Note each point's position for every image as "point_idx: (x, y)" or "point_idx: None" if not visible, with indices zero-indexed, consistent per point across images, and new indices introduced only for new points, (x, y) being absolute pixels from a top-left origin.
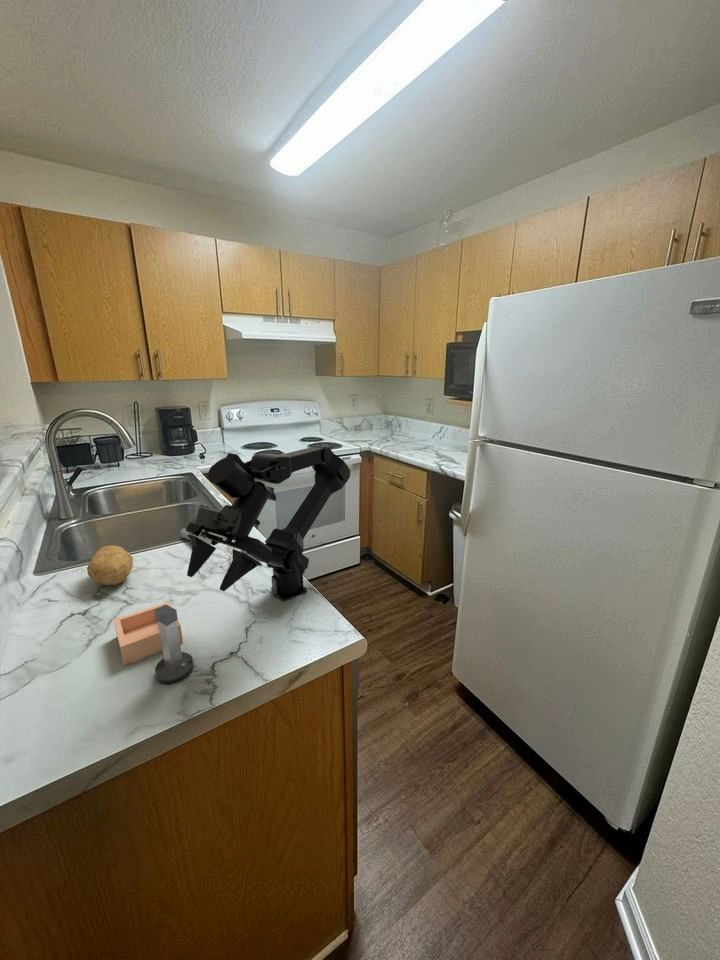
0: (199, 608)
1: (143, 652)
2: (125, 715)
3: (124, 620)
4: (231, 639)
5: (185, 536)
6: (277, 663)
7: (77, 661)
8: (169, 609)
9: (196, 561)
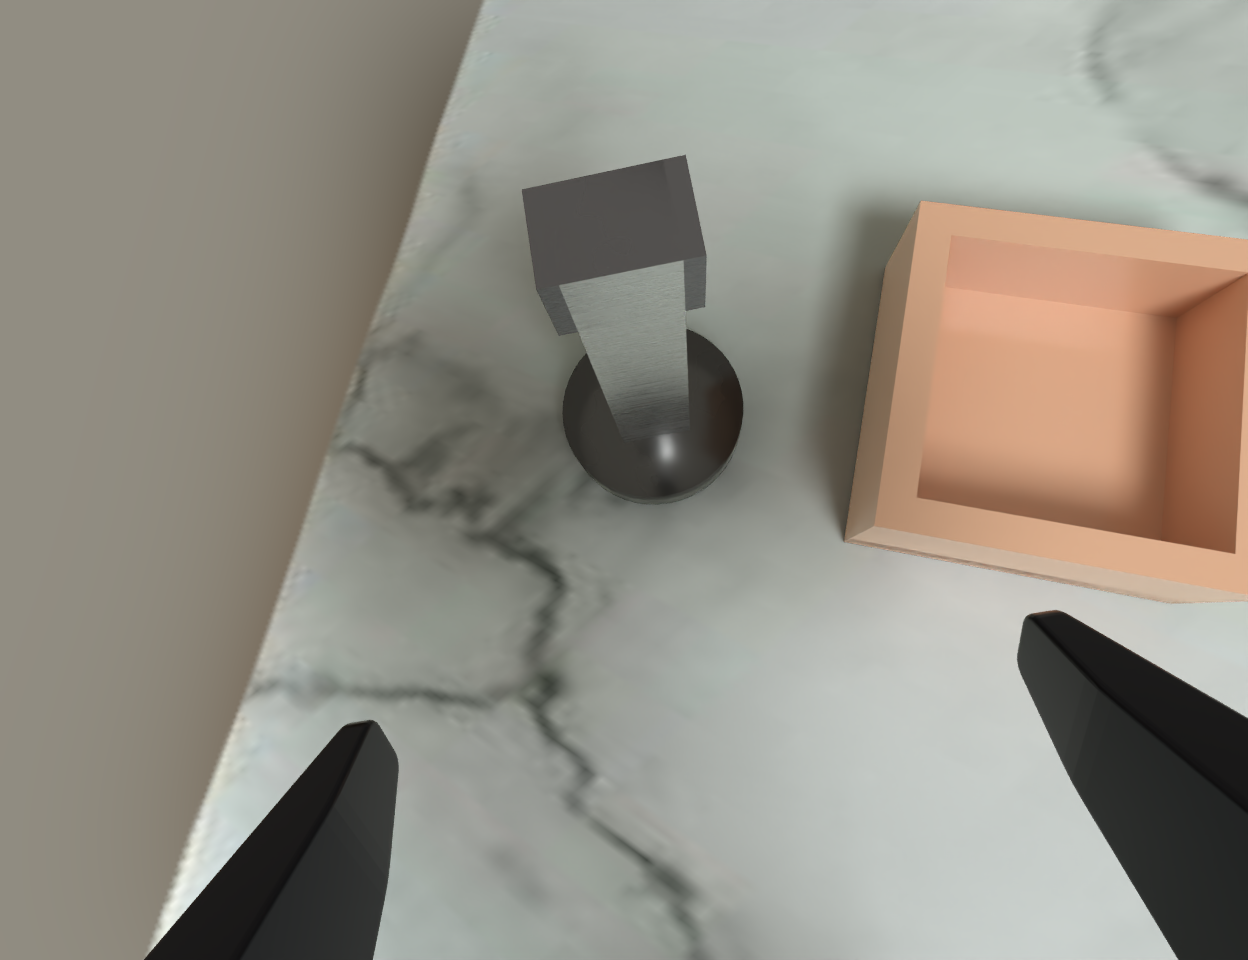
0: None
1: (880, 339)
2: None
3: (1235, 301)
4: (658, 752)
5: None
6: None
7: (1095, 125)
8: (584, 247)
9: (1202, 839)
